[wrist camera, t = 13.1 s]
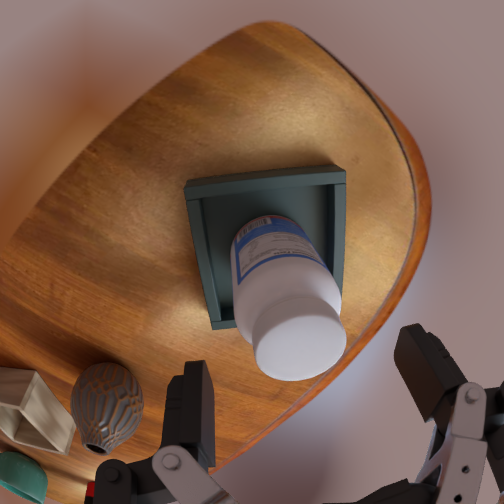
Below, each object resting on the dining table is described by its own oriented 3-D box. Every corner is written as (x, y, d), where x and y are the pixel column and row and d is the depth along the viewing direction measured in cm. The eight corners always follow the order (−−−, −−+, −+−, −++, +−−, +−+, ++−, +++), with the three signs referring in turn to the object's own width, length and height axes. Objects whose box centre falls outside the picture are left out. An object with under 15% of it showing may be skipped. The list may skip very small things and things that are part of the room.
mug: (54, 467, 40) (45, 502, 32) (48, 476, 44) (41, 507, 36) (-14, 428, 35) (-27, 462, 26) (-10, 443, 39) (-21, 472, 30)
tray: (187, 180, 19) (183, 187, 17) (335, 164, 19) (346, 170, 17) (212, 314, 24) (212, 330, 22) (333, 298, 24) (340, 312, 22)
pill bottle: (295, 288, 23) (331, 393, 14) (223, 277, 22) (225, 388, 13) (319, 221, 20) (382, 309, 12) (240, 204, 19) (254, 292, 11)
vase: (121, 344, 24) (97, 426, 17) (161, 390, 28) (151, 466, 20) (70, 358, 25) (42, 428, 17) (110, 399, 28) (94, 466, 20)
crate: (-16, 364, 26) (-32, 393, 21) (36, 370, 26) (19, 406, 21) (24, 413, 30) (13, 441, 26) (77, 422, 31) (68, 455, 26)
